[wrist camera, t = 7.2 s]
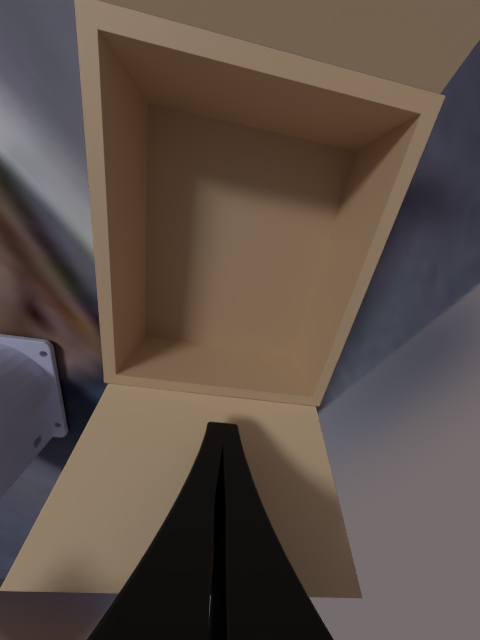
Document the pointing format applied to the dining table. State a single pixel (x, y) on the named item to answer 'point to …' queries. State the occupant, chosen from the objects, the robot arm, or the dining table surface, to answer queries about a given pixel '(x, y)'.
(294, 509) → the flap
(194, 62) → the carton
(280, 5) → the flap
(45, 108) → the dining table surface
